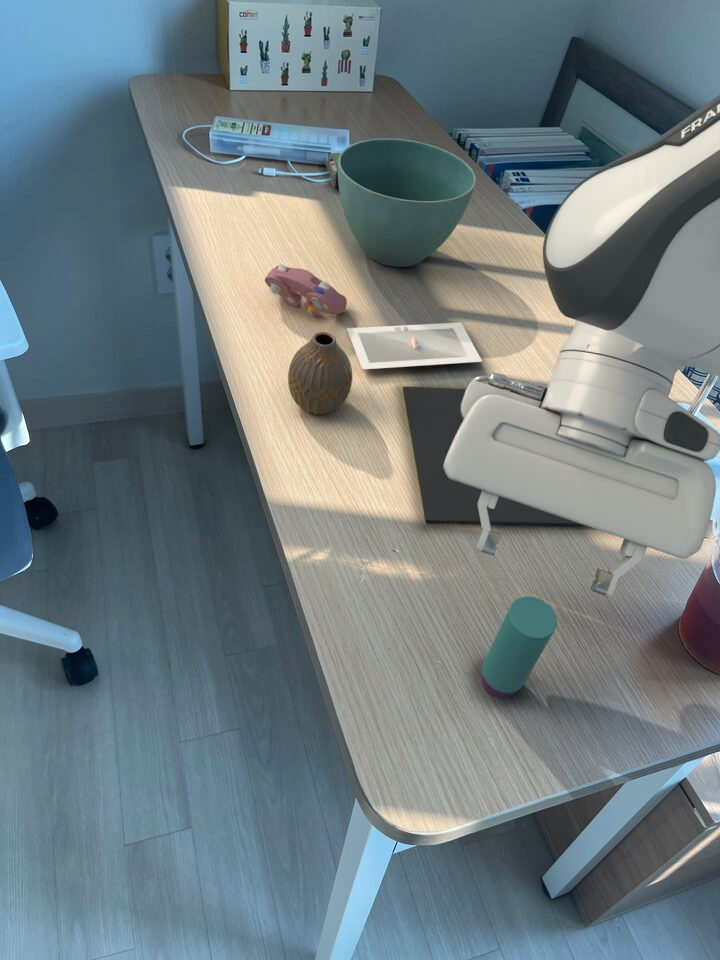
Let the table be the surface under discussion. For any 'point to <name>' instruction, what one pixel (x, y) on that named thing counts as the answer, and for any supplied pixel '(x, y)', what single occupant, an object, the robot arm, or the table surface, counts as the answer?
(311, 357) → the vase
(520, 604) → the cylinder
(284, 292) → the video game controller
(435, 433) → the desk mat
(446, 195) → the plant pot
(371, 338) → the white framed picture
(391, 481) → the table surface
